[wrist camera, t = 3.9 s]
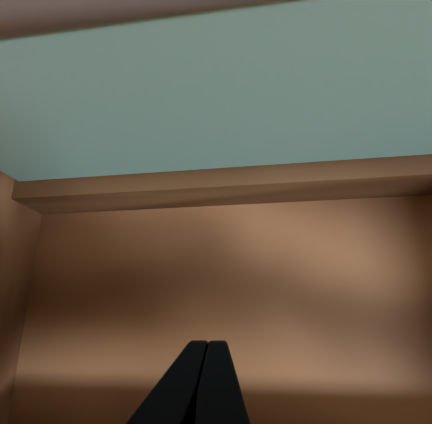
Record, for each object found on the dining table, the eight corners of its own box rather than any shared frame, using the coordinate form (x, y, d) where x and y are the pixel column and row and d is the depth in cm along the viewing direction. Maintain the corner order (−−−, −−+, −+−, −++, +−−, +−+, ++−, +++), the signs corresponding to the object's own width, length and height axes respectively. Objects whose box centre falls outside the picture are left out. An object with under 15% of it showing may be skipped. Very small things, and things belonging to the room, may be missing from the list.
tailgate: (502, 158, 14) (945, -183, 5) (17, 189, 17) (-287, 21, 8) (490, 114, 15) (861, -263, 5) (24, 152, 18) (-250, -44, 9)
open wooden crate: (565, 483, 14) (768, 589, 8) (-2, 449, 17) (-137, 505, 12) (482, 161, 18) (576, 82, 12) (42, 188, 22) (-40, 137, 16)
